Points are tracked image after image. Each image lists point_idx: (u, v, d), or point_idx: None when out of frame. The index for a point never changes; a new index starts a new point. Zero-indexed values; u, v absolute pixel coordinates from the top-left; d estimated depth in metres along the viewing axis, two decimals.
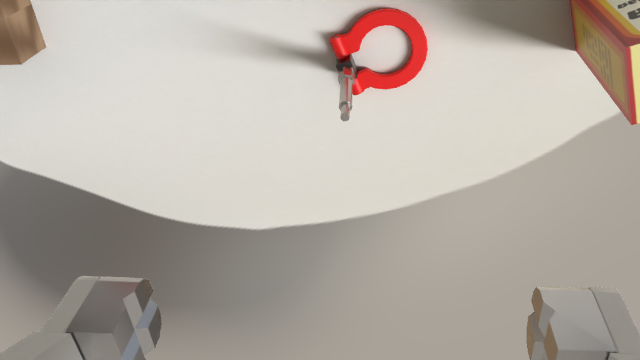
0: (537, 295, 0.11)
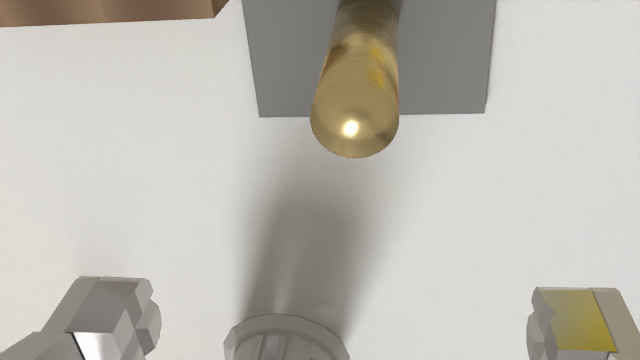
0: (537, 295, 0.11)
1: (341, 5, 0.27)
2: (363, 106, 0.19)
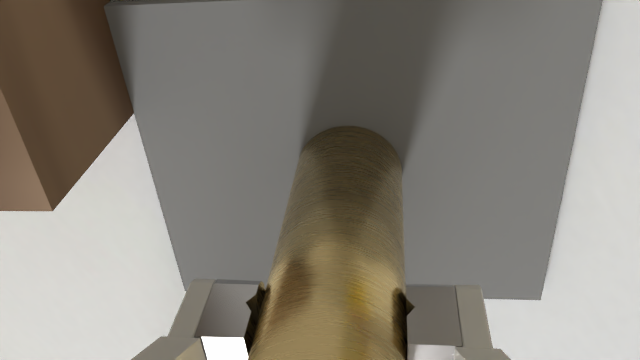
0: (405, 292, 0.11)
1: (306, 146, 0.15)
2: None
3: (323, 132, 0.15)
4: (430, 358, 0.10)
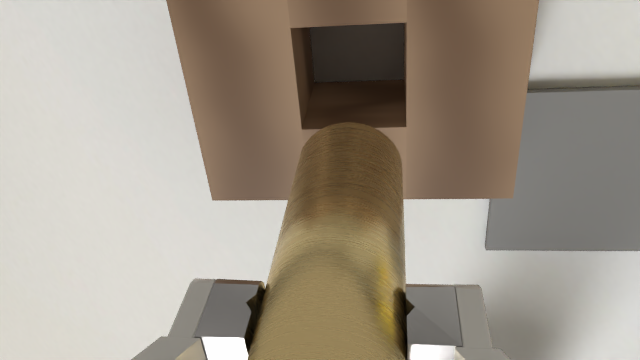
0: (405, 292, 0.11)
1: (307, 143, 0.16)
2: None
3: (324, 129, 0.15)
4: (430, 358, 0.10)
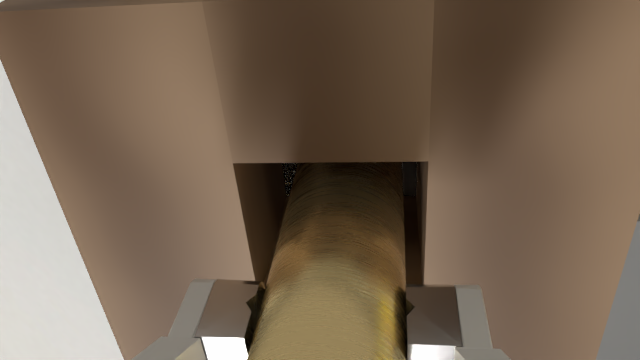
0: (405, 292, 0.11)
1: None
2: None
3: None
4: (430, 358, 0.10)
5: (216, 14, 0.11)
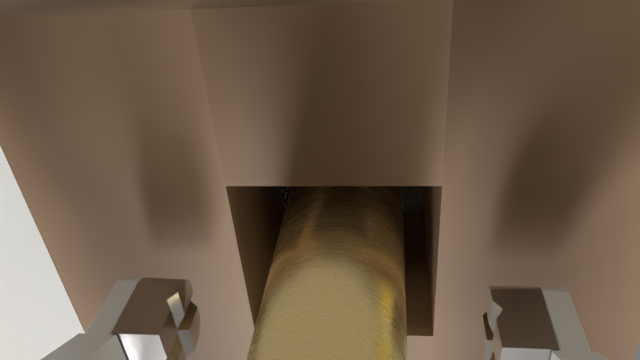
0: (488, 294, 0.11)
1: None
2: None
3: None
4: None
5: (206, 23, 0.10)
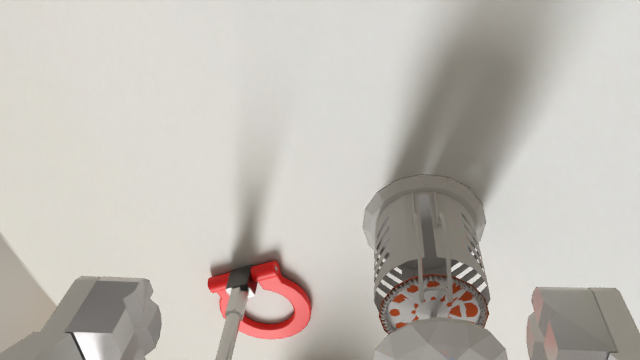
0: (537, 295, 0.11)
1: None
2: None
3: None
4: None
5: None
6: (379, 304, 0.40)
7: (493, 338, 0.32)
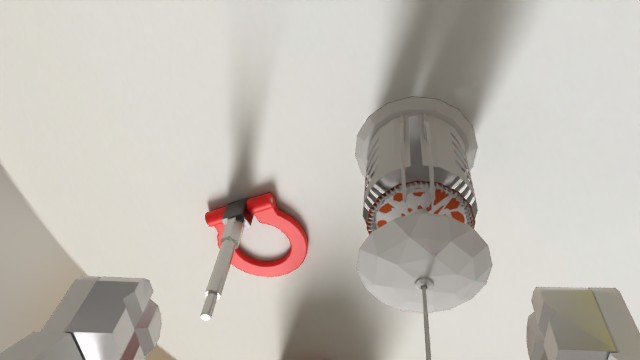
0: (537, 295, 0.11)
1: None
2: None
3: None
4: None
5: None
6: None
7: (475, 233, 0.32)
